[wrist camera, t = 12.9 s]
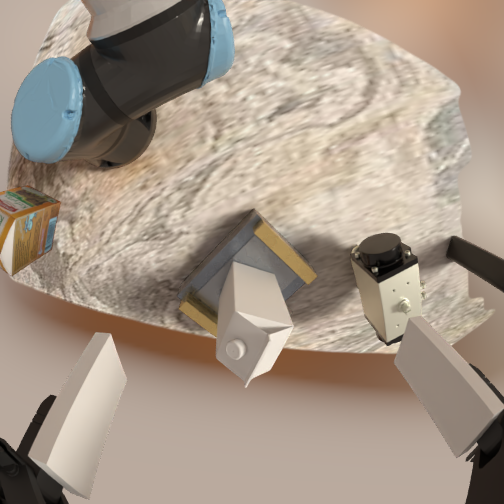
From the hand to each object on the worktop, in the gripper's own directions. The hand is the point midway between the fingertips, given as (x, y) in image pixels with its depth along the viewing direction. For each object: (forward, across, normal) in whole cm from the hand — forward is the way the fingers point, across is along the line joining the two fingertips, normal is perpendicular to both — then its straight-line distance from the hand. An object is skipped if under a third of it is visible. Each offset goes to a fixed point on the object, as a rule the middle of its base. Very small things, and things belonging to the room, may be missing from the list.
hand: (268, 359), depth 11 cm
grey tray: (+37, +2, -13) cm, 39 cm away
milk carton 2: (+32, +1, -12) cm, 34 cm away
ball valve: (+37, +24, -11) cm, 45 cm away
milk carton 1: (+37, -42, +1) cm, 56 cm away
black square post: (+37, +51, -8) cm, 63 cm away
